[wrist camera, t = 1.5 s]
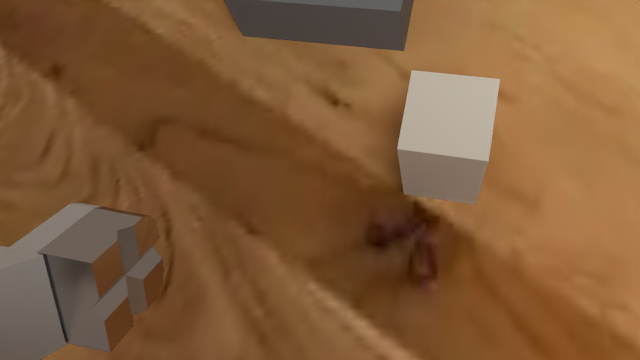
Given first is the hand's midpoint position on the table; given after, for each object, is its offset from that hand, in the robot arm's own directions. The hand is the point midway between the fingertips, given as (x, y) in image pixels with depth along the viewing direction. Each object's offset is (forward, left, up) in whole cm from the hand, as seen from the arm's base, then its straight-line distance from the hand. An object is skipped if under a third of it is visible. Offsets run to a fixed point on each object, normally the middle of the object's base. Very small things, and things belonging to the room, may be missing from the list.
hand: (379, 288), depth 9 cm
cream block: (0, +11, -26) cm, 28 cm away
